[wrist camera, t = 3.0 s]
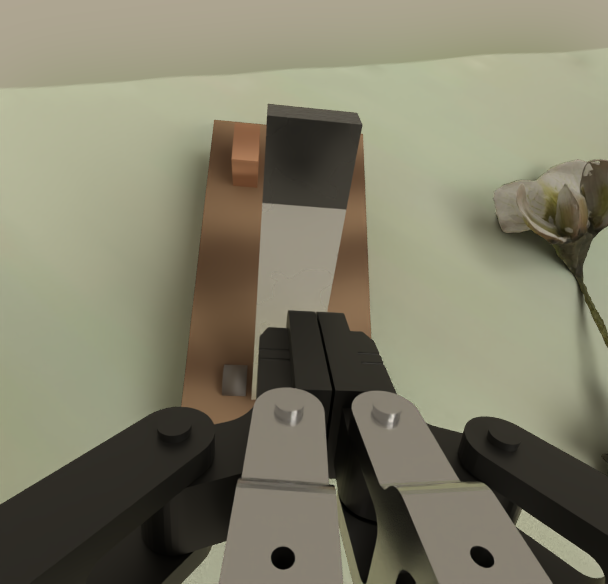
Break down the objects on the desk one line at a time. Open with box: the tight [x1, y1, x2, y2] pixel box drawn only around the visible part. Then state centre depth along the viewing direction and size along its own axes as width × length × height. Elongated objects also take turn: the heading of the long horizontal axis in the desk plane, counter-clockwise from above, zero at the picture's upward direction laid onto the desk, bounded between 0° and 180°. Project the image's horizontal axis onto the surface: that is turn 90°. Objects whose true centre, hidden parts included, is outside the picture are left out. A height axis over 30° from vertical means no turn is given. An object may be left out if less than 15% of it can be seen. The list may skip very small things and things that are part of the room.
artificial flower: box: [493, 159, 608, 463], centre depth 29 cm, size 9×22×10 cm, turn 4°
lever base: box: [181, 120, 371, 424], centre depth 27 cm, size 20×10×7 cm, turn 179°
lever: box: [251, 104, 362, 400], centre depth 19 cm, size 14×3×1 cm
